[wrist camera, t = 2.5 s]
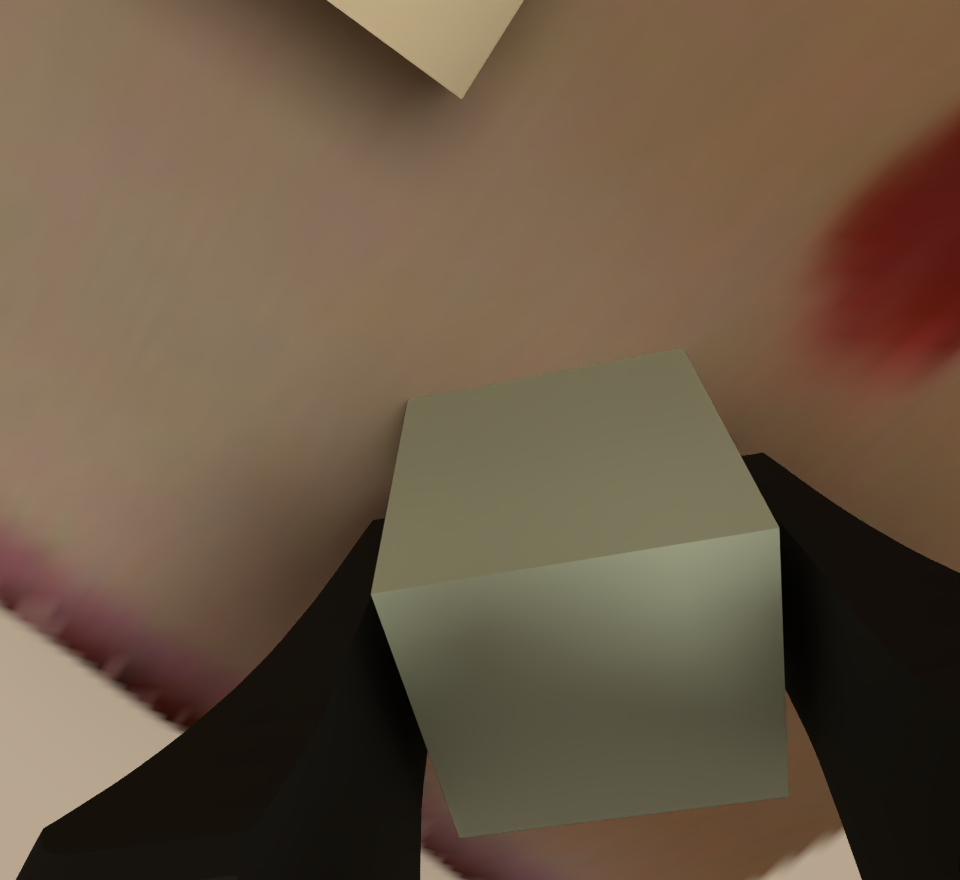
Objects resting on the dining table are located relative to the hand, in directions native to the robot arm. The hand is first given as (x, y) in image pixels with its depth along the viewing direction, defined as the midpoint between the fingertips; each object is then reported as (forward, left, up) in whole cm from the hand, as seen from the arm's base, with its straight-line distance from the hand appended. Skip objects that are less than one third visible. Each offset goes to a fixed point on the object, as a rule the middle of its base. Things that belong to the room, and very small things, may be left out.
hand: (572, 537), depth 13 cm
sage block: (0, 0, -2) cm, 2 cm away
